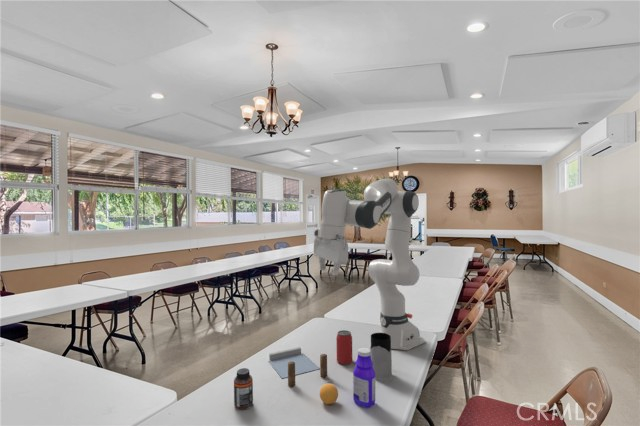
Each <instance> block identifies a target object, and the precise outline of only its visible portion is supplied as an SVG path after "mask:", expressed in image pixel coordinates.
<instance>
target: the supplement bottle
mask: <svg viewBox="0 0 640 426" xmlns="http://www.w3.org/2000/svg"><path fill="white" fill-rule="evenodd" d="M253 383H254V382H253V376H252V375H251V374H250V369H249V368H248V367H247V368H246V367H243V368H239V369H237V371H236V376H235V377H234V380H233V402H234V403H233V405H234V408H235V409H237V410H239V411H240V410H241V411H245V410H248V409H249V408H251V407H252V406H253V404H254V392H253V391H254V387H253V386H254V385H253Z"/></svg>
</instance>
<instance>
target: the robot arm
mask: <svg viewBox="0 0 640 426" xmlns="http://www.w3.org/2000/svg"><path fill="white" fill-rule="evenodd" d="M363 199H364V200H357V199H356V200H354V199H350V198H349V197H348V196H347V190H345V189H343V188H330V189H329V188H328V189H327V190H325V192H324V194H323V199H322V203H321V211H320V212H321V220H320V222H319V223H320V225H319V228H317V229H315V230H314V231H313V236H314V239H313V254H314V256H315V257H318V262H319V263H318V264H319V270H321V271H326V268H327V265H326V262H325V261H326V260H327V261H330V262H333V269H331V275H332V276H338V275H339V270H340V268H341V265H346V264H347V263H348V261H349V243H348V240H347V238H346V237H345V228H346V226H350V227H356V228H357V227H359V228H364V229H368V230H370V229H371V230H372V229H373V228H374V227H376V226H377V225H378V223H380V220H381V218H382V216H383V215H384V214H386V215H390V216H389V220H388V223H387V228H386V234H385V239H384V240H385V242H384V247H385V248H386V250H387V251H388V252H390V254H391V256H392V259H385V258H378V259H372V260H371V262H370V263H369V265H368V266H367V267H368V268H367V273H368V275H369V276H368V277H370V279H371V280H372V281H373V282H374V283H375V285H376V288H377V290H378V292H379V295H380V296H379V297H380V309H381V310H380V316H379V317H380V318H379V319H380V331H379V333H384V332H386V334H389V335H390V336H391V350H392V349H393V350H402V351H409V350H411V349H414V348H416V347H419V346H421V345H423V344H425V343H426V340H425V338H424V337H422V336H421V333H420V330H419V328H418V327H417V326H416V325H415V324H414V323H413V322H411V321H410V320H409V319H413V314H411V313H410V312H408V313H406V298H405V295H404V294H403V293H402V292H401V291H400V290H399V289H398V287H397V286H402V287H410V286H416V284H417V283H418V282H419V279H420V270H419V268H418V266H417V265H416V264H415V262H414V261H413V259H412V257H411V255H410V254H411V253H410V239H411V229H412V218H411V217H412V216H413V215H414V214H415V213H416V212H417V210H418V209H419V196H418V194H417V193H416V192H414V191H411V190H399V187H398V184H397V182H396V181H395V180H394V179H393V178H388V177H387V178H381V179H377V180H375V181H373V182H371V183H370V184H368V185H367V186H366V187H365V188H364V191H363ZM396 285H397V286H396Z"/></svg>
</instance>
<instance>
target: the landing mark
mask: <svg viewBox="0 0 640 426" xmlns="http://www.w3.org/2000/svg"><path fill="white" fill-rule="evenodd" d="M291 361H293V362H295V376H298V375H302V374H306V373H310V372H314V371H317V370H320V366H318V365H317V364H316V363H314V362H313V360H311V359H310V357H308V356H307V355H306V353H304V352H303V353H302V352H301V354H298V355H294V356H289V357H285V358H280V359H276V360H272V361H270V360H268V361H267V362H268V363H269V365H271V367H272V368H273V369H274V371H275V372H276V373H277V374H278V376H279V377H280V378H281V379H282V380H283V379H286V378H287V379H288V362H291Z"/></svg>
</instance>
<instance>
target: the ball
mask: <svg viewBox="0 0 640 426" xmlns="http://www.w3.org/2000/svg"><path fill="white" fill-rule="evenodd" d="M338 397H339V391H338V388H337V387H336V386H335V385H334V384H333V383H330V382H329V383H325V384H323V385H322V386H321V388H320V390H319V399H321V401H322V403H324V404H325V405H332V404H334V403H336V401H337V399H338Z"/></svg>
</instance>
